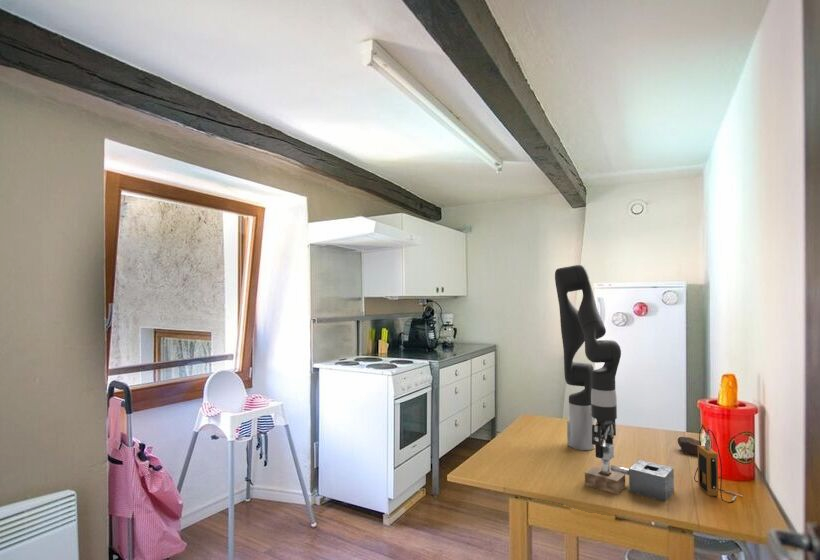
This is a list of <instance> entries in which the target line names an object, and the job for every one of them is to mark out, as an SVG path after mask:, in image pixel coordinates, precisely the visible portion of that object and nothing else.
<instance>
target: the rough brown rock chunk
mask: <svg viewBox="0 0 820 560" xmlns="http://www.w3.org/2000/svg"><path fill="white" fill-rule="evenodd" d="M701 442H702V441H701V440H700V442H699V440H697V439H696V438H693V437H689V436H687V437H686V436H679V437H678V438H677V443H678V445H679V447H680V451H681V452H683V453H686V454H688V455H691V456H695V457H698V450H697V446H698V445H700V443H701Z"/></svg>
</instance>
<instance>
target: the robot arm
mask: <svg viewBox="0 0 820 560" xmlns="http://www.w3.org/2000/svg"><path fill="white" fill-rule="evenodd" d="M554 281H555V288H556V289H555V290H556V294H557V301H558V307H559V308H558V309H559V322H560V323H559V324H560V331H561V341H562V348H563V365H564V366H563V372H564V380H565V382H566V384H567V385H569V386H575V387H584V389H582V390H581V391H578V392H575V393H574V392H573V393H571V394H569V396H568V421H567V422H566V431H567V433H566V434H567V437H566V439H567V442H566V443H567V444H566V445H567V446H568V447H570V448H572V449H575V450H579V451H591V450H594V449H595V457H596V458H597V459H601V458H603V457H604V455H603V445H604V443H609V444H614V441H613V440H614V439H615V437H616V436H617V428H616V427H617V425H616V420H617V418H618V412H617V411H618V409H617V407H618V406H617V402H618V401H617V392H616V390H617V389H616V375H617V371H618V368H619V364H620V360H621V356H622V349H621V346H620V345H619V343H618V342H617V341H615V340H612V339H608V340H607V339H605V340H601V338H603V337H604V336H605V335H606V332H607V330H606V327H605V324H604V322H603V320H602V317H601V315H600V312H599V310H598V307H597V304H596V299H595V296H594V292H593V289H592V284H591V280H590V277H589V274H588V271H587V269H586V268H585V266H583V265H581V264H575V265H574V264H573V265H570V266H563V267H560V268H556V269H555V271H554ZM576 291H582V300H581V302H580V305H579V308H578V309H577V308H576V306H575V305H574V304H573V303H572V302H571V300H570V299H569V297H568V293H571V292H576ZM599 339H600V340H599ZM583 344H584V354H585V357H586V358H587V360H589V361H590V363H589V362H577V361H576V362H575V361H573V360H574V357H575V356H576V355H577V352H578V351H579V349H580V348H581V347H582V346H583ZM591 362H592V363H597V364H598V363H600V364H601V363H604V364H603V366H602V367H600V368H597V369H594V367H593V364H592V363H591ZM594 420H596V423H595V421H594ZM594 423H595V424H594Z"/></svg>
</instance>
